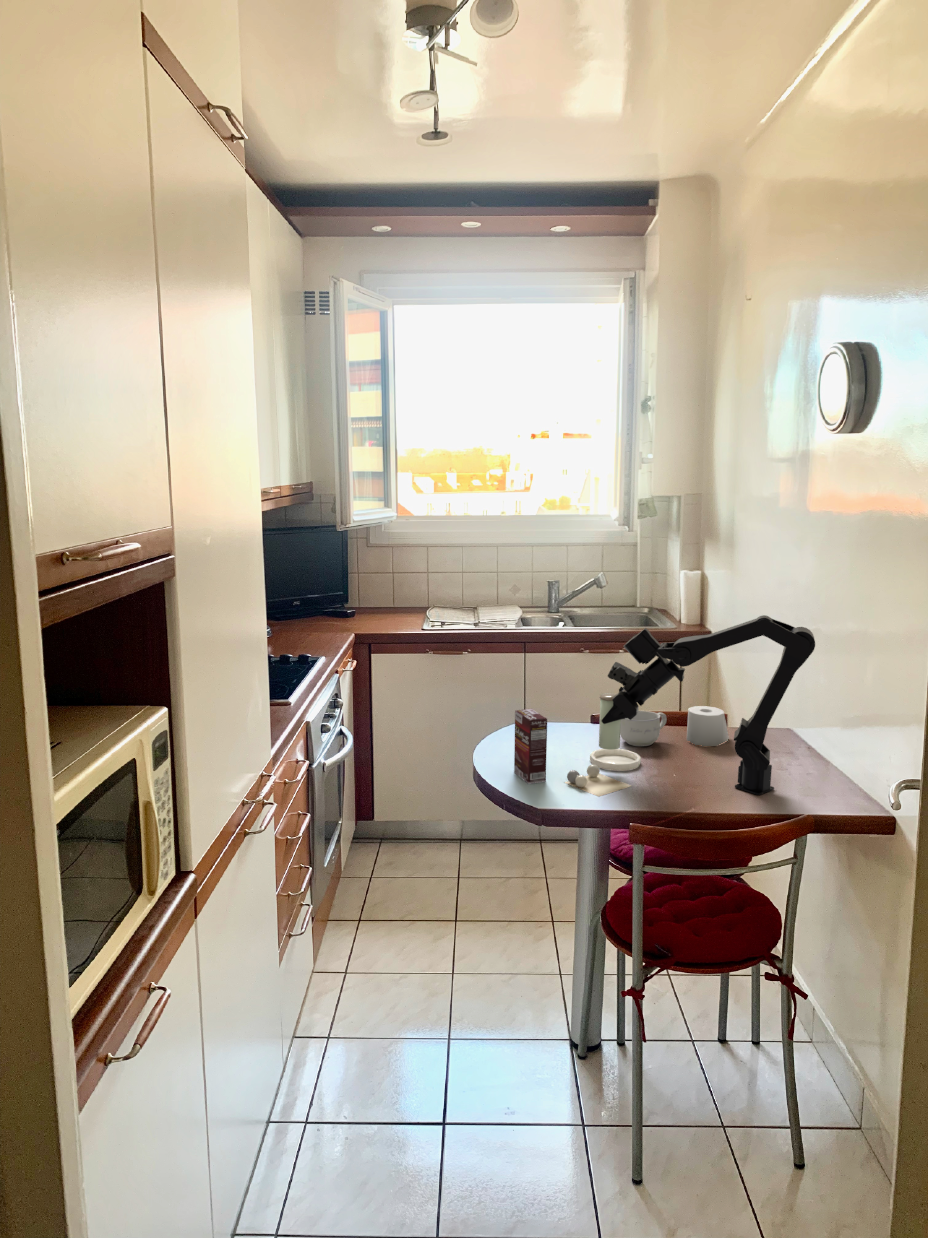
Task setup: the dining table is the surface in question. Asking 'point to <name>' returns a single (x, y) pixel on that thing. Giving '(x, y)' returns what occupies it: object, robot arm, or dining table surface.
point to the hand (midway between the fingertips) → (604, 719)
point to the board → (601, 785)
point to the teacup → (642, 728)
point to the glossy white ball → (593, 771)
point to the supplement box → (530, 746)
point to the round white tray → (615, 759)
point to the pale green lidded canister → (608, 725)
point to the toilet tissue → (706, 726)
